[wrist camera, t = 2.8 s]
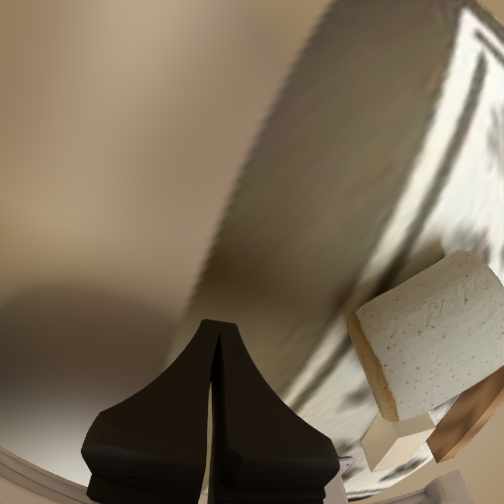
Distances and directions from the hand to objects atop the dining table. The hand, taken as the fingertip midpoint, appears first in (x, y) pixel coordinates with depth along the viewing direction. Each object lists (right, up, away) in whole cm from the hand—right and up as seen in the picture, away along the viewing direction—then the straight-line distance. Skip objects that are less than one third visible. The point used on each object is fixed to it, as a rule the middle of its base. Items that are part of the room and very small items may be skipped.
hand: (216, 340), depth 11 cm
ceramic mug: (+12, -1, +6) cm, 13 cm away
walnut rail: (+25, -7, +9) cm, 28 cm away
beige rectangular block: (+14, -12, +11) cm, 21 cm away
